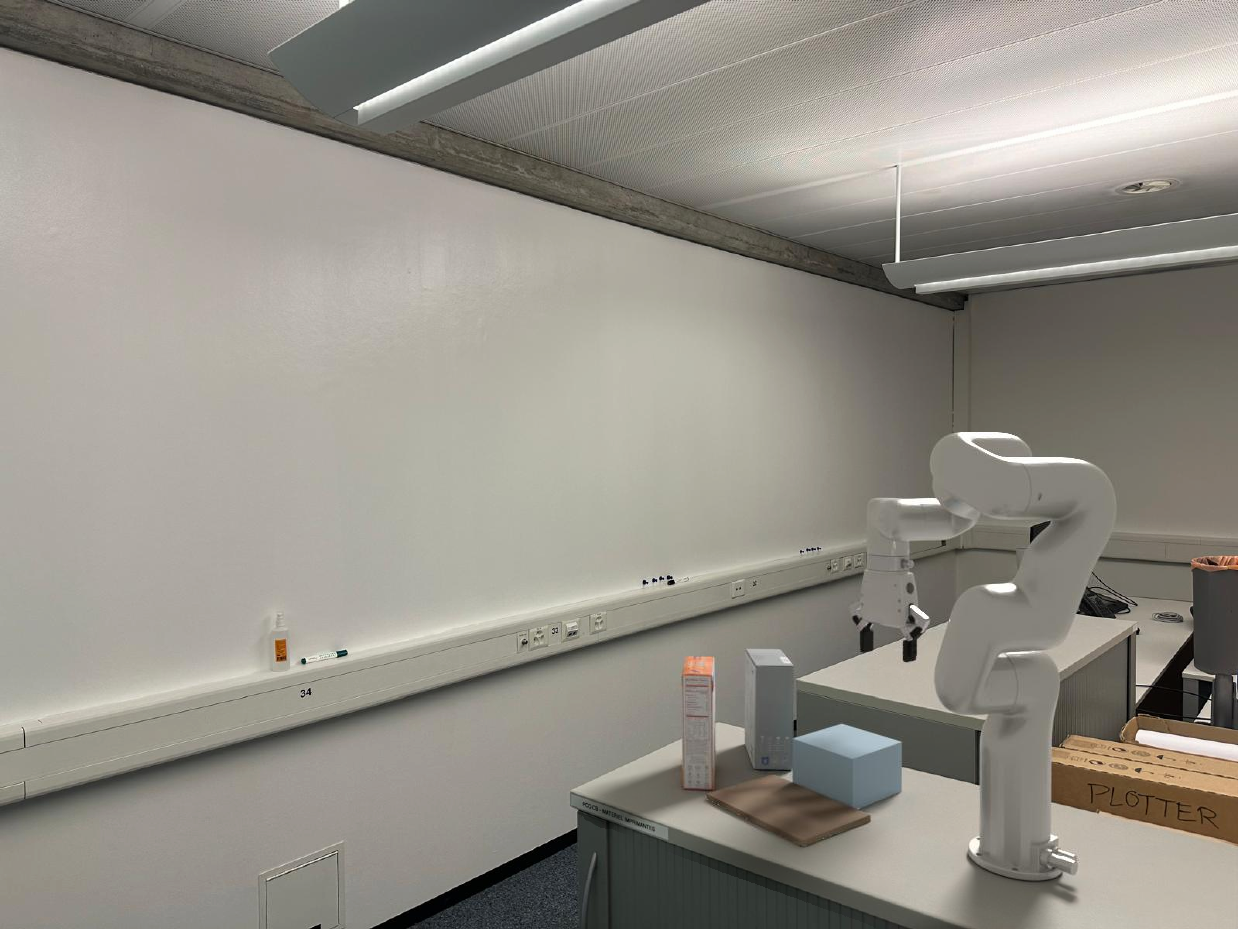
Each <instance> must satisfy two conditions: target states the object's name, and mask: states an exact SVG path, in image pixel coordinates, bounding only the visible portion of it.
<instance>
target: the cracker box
mask: <svg viewBox="0 0 1238 929" xmlns="http://www.w3.org/2000/svg"><path fill="white" fill-rule="evenodd" d="M715 664H716V662H715V657H714V656H697V655H688V656H685V660H684V664H683V669H682V673H681V743H682V744H681V747H682V748H681V749H682V752H681V753H682V755H681V756H682V758H681V759H682V789H683V790H696V789H697V790H696V791H698V790H700V791H701V790H702V791H714V790H715V777H716V776H715V775H716V773H715V772H716V670H715V669H716V668H715Z"/></svg>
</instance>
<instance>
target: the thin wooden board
mask: <svg viewBox="0 0 1238 929" xmlns="http://www.w3.org/2000/svg"><path fill="white" fill-rule="evenodd" d="M707 799H708V800H707ZM706 800H707V801H709V802H711V801H713V802H714V803H713V802H712V803H713V804H715V803H716V804H715V805H717V804H719V805H720V806H719V805H718V806H719V807H721V806H722V807H721V808H723V807H724V808H723V809H725V808H727V809H728V810H727V809H726V810H727V811H729V810H730V812H731V811H733V812H734V813H733V812H732V813H733V814H735V813H736V815H737V814H739V815H740V816H739V815H738V816H739V817H741V816H742V817H741V818H743V817H744V818H743V819H745V818H747V819H748V820H747V819H746V820H747V821H749V820H750V821H749V822H751V821H753V822H754V824H755V825H758V826H759V825H760V827H761V826H762V827H761V828H763V827H764V829H765V828H767V829H768V830H767V829H766V830H767V831H769V830H770V832H771V831H772V833H773V832H774V834H776V835H778V836H780V835H781V836H780V837H782V838H784V839H786V838H787V839H786V840H788V841H790V842H791V843H794V842H795V843H794V844H795V845H798V846H800V845H801V847H802V848H805V847H806V846H805V845H807V846H810V845H812V844H814V843H813V842H815V843H817V842H816V841H818V842H820V841H821V840H820V839H823V838H825V839H827V838H826V837H828V838H830V837H829V836H830V835H833V836H835V835H834V834H836V833H838V834H840V833H839V832H841V833H843V831H844V832H846V831H848V830H847V829H849V828H851V829H853V827H854V828H856V827H859V826H861V825H864V824H866V823H869V822H871V821H872V820H871V814H869V813H868V812H864V811H862V810H860V809H855V808H853V807H850V806H848V805H845V804H843V803H841V802H838V801H836V800H833V799H831V798H829V797H826V796H824V795H821V794H819V793H817V792H814V791H812V790H809V789H807V788H805V787H802V786H800V785H798V784H795V783H793V781H790V780H787V779H785V778H783V777H781V776H778V775H776V774H773V773H771V774H768V775H765V776H761V777H757V778H754V779H750V780H748V781H745V782H741V783H737V784H734V785H730V786H728V787H725V788H721V789H718V790H715V791H714V790H713V791H711V792H708V793H706ZM753 822H752V823H753ZM858 825H859V826H858ZM845 830H846V831H845ZM849 830H850V829H849ZM836 835H837V834H836ZM819 840H820V841H819ZM823 840H824V839H823ZM809 844H810V845H809ZM804 846H805V847H804Z"/></svg>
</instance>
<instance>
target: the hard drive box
mask: <svg viewBox="0 0 1238 929" xmlns="http://www.w3.org/2000/svg"><path fill="white" fill-rule="evenodd" d="M744 652H745V653H744V654H745V655H744V656H745V657H744V662H745V663H744V667H745V668H744V744H745V748H746V751H747V753H748V754H747V755H748V756H749V758H750V762H751V765H752V767H753V770H755V769H756V770H782V771H783V770H786V771H789V770H790V771H793V738H794V703H795V702H794V700H795V698H794V697H795V696H794V693H795V692H794V691H795V690H794V689H795V687H794V686H795V682H794V681H795V665H794V664H793V663H792V661H790V659H789V658H788V657H787V656H786V655H785V653H784V652H783V651H782V650H781V649H780V648H779V649H777V648H745V650H744Z"/></svg>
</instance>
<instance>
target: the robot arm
mask: <svg viewBox="0 0 1238 929" xmlns="http://www.w3.org/2000/svg"><path fill="white" fill-rule="evenodd" d="M929 469H930V473H931V476H932V482H931V485H932V492H933V495H934V497H935V498H933V497H931V498H922V497H921V498H898V497H897V498H896V497H875V498H871V499H870V500H869V501H868V503H867V506H866V569H864V570H863V571H864V572H863V577H862V582H861V591H860V600H858V601H856V602H854V603H852V604H850V605H849V606H848V611H849V612H850V616H851V617H852V619H851V620H852V621H853V623H854V624H855V626H856V629H857V631H858V632H859V652H860V653H863V654H865V653H869V652H873V651H874V630H873V629H872V627H873V626H874V625H879V626H885V627H890V628H896V629H899V631H901V633H902V635H903V637H904V638H905V639H904V640H902V661H903V663H911V662H914V661H915V662H916V661H917V656H918V640H920V639H921V636H922V635H923V634H925V633H926V631H927V630H926V629H927V628H928V626H929V625H930V622H931V618H930V617H929V616H928V615H927V614H925V613H924V612H923V611H921V610H920V609H919V602H918V601H919V600H918V591H917V584H916V580H915V574H914V573H913V572H910V569H912V568H914V566H915V562H914V561H913V560H910V542H916V541H917V542H918V541H920V542H921V541H946V540H949V539H953V538H955V537H958V536H960V535H962V534H963V533H965V532H967V531H968V530H970V529H972V528H973V527H974V526H975V525H976V524H977V523H978V521H979V519H980V516H981V514H982V515H984V516H987V517H989V518H992V519H996V520H1003V521H1005V520H1006V521H1008V520H1009V521H1013V520H1015V521H1016V520H1050V523H1049V525H1048V526H1047V527H1045V529H1043V530H1042V531H1041V532H1039V534H1038V535H1037V536H1036V537H1035V538H1034V539H1033V540H1032V541H1031V542H1030V543H1029V545H1028V546H1027V548H1026V550H1025V551H1024V554H1023V556H1022V559H1021V562H1020V566H1019V568H1018V570H1017V572H1016V575H1015V576H1014V578H1013V579H1012V580H1010V581H1008V582H1005V583H990V584H989V583H987V584H980V585H975V586H971V587H970V588H968V589H966V590H965V591H964V592H962V593H961V594H960V596H959V597H958V598H957V600H956V601H955V603H954V605H953V607H952V609H951V612H950V616H949V620H948V622H947V625H946V629H945V632H944V636H943V638H942V642H941V644H940V649H939V652H938V655H937V659H936V662H935V667H934V672H933V674H934V675H933V684H934V689H935V694H936V696H937V699H938V700H939V702H940V704H941V705H942V706H943V707H944V708H945V709H946V710H948V711H949V712H951V713H954V714H956V715H961V716H982V715H987V716H986V718H985V721H984V722H983V726H982V728H981V732H980V737H979V835H978V836H976V837H973V838H972V839H971V840H969V841H968V845H967V853H968V856H969V857H970V858H971V859H972V861H973V862H974V863H975V864H976V865H979V866H980V867H981V868H983V869H984V870H985V869H986V870H987V871H989V872H991V873H995V874H997V875H1000V876H1002V877H1003V876H1004V877H1006V878H1010V879H1011V878H1012V879H1016V880H1024V881H1046V880H1047V881H1048V880H1051V879H1054V878H1057V877H1058V876H1060V875H1061V874H1062V873H1065V874H1069V875H1071V876H1075V875H1076V874H1077V872H1078V868H1079V865H1078V856H1077V855H1076V854H1075V853H1071V852H1068V851H1064V850H1061V847H1059V837H1058V836H1056V835H1053V834H1052V746H1053V744H1052V743H1053V741H1052V740H1053V727H1054V726H1053V725H1054V717H1055V712H1056V709H1057V704H1058V700H1059V695H1060V689H1061V687H1060V686H1061V677H1060V673H1059V669H1058V667H1057V664H1056V662H1055V661H1054V659H1053V658H1052V657H1051V656H1050V655H1049V654H1048V653H1047V652H1045V651H1048V650H1052V649H1055V648H1058V647H1060V645H1062V644H1063V643H1064V641H1065V640H1066V639H1067V636H1068V634H1069V632H1070V630H1071V628H1072V625H1073V622H1074V620H1075V617H1076V614H1077V612H1078V609H1079V607H1080V605H1081V601H1082V599H1083V597H1084V595H1085V591H1086V588H1087V585H1088V583H1089V580H1090V577H1091V575H1092V572H1093V570H1094V568H1095V566H1096V564H1097V562H1098V560H1099V559H1100V556H1101V554H1102V553H1103V551H1104V549H1105V547H1106V545H1107V544H1108V542H1109V540H1110V538H1111V535H1112V533H1113V529H1114V527H1115V523H1116V519H1117V497H1116V492H1115V489H1114V486H1113V484H1112V482H1111V481H1110V478H1109V477H1108V476H1107V474H1106V473H1105V472H1104V471H1103V470H1102V468H1100V467H1098V465H1097V466H1096V465H1095V464H1094V463H1091V462H1089V461H1085V460H1082V459H1077V458H1076V459H1075V458H1071V457H1033V453H1032V451H1031V447H1030V446H1029V445H1028V444H1027V443H1026V442H1025V441H1024V440H1022V439H1021V438H1020V437H1018V436H1015V435H1012V434H1009V433H1003V432H954V433H949V434H948V435H945V436H944V437H941V439H939V440H938V441H937V442H936V444H935V445H934V447H933V449H932V451H931V454H930V458H929ZM916 625H917V626H916Z"/></svg>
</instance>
